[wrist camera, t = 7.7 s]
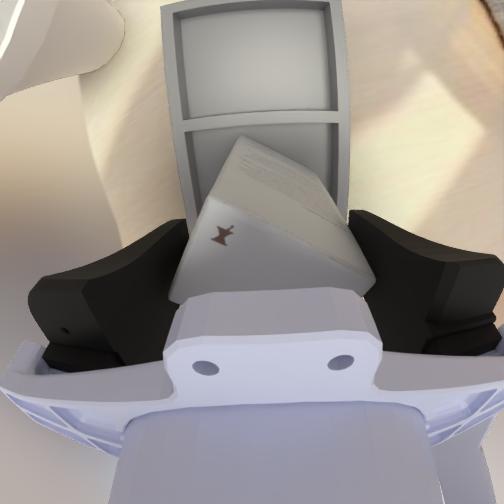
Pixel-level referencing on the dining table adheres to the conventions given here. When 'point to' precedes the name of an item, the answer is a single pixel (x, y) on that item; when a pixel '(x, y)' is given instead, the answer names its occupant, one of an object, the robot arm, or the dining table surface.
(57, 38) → the foam cup
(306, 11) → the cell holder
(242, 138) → the skincare box
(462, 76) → the dining table surface
